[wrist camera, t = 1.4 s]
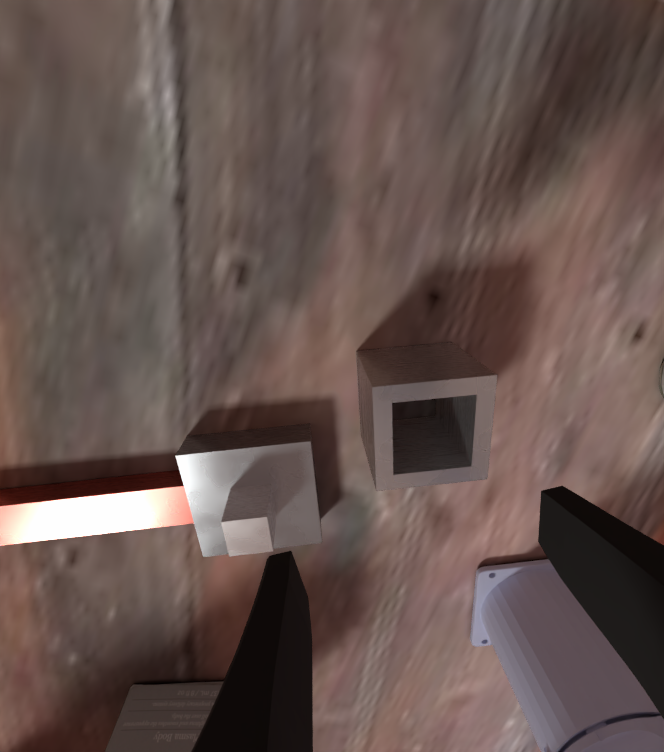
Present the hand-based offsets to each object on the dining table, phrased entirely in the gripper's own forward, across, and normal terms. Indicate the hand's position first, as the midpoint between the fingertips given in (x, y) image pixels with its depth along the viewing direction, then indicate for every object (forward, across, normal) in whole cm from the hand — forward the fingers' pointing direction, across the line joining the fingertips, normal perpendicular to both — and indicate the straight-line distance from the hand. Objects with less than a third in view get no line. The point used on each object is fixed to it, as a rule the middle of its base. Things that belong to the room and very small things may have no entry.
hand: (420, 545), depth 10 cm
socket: (+11, -3, +1) cm, 11 cm away
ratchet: (+11, +13, +4) cm, 17 cm away
